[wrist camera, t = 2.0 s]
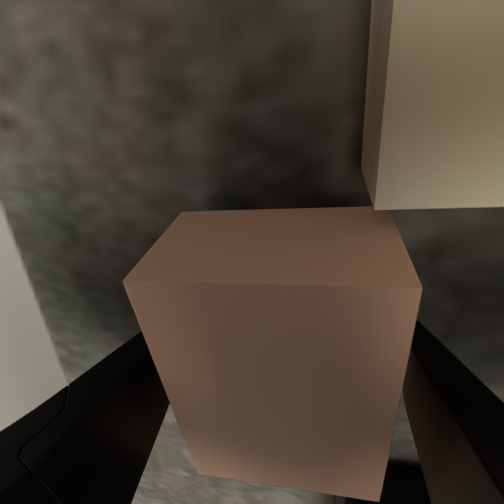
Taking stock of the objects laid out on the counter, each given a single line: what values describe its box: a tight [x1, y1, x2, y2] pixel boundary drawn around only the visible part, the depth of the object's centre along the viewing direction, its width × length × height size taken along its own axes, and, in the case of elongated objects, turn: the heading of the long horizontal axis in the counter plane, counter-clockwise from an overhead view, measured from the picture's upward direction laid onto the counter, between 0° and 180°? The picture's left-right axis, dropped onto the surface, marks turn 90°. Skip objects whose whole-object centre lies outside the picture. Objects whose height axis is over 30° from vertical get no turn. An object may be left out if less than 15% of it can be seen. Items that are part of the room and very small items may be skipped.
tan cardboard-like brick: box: [122, 206, 423, 502], centre depth 9 cm, size 7×5×4 cm
